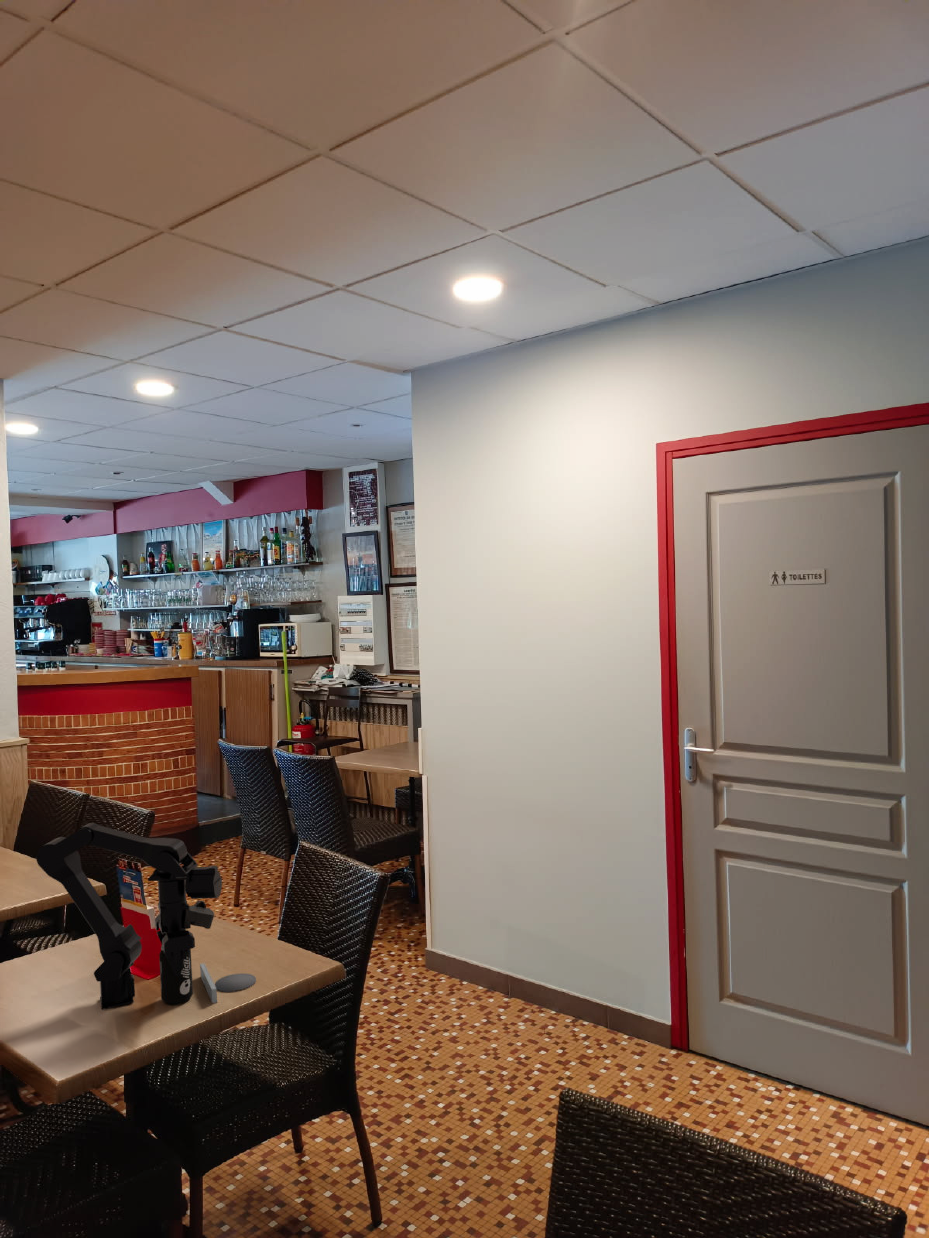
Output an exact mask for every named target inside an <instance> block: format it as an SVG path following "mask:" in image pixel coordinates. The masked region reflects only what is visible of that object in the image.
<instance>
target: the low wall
mask: <svg viewBox="0 0 929 1238" xmlns="http://www.w3.org/2000/svg"><path fill="white" fill-rule="evenodd" d="M199 970H200V972H199V973H200V978H201V981H202V982H203V986H204V985H205V986H204V987H205V990H206V993H207V995H208V997H209V998H210V1001H211V1003H212V1004H217V1003H218V994H217V991H218V990H217V989H216V986H215V982H214V981H213V978H212V976H211V974H210V972H209V970H208V967H207V965H206V964H205V962H203V963H200V964H199Z"/></svg>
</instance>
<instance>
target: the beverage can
mask: <svg viewBox="0 0 929 1238" xmlns="http://www.w3.org/2000/svg"><path fill="white" fill-rule="evenodd" d="M162 947H163V945H162V944H161V947H160V949H161V950H160V952H159V953H158V955H159V959H158V960H159V974H160V975H159V976H160V978H159V979H160V980H159V981H160V997H161V998H160V999H161V1001H162V1002H163V1003H164V1004H166V1005H169V1006H176V1005H181V1004H185V1003H186V1002H188V1001H190V999H191V998H192V996H193V995H194V990H193V968H192V967H193V966H192V951H191V950H192V949H189V950H188V951H187V952H186V953H185V957H184V961H183V966H182V971H181V975H180V976H175V974H174V972H173V970H172V968H171V966H170V964H169V962H168V959H167V957H166V955H165V953H164V951H163V948H162Z"/></svg>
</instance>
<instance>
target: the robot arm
mask: <svg viewBox="0 0 929 1238" xmlns="http://www.w3.org/2000/svg"><path fill="white" fill-rule="evenodd" d="M85 846H91V847H95V848H99V849H103V850H105V851H106V850H107V851H110V852H114V853H118V854H122V855H126V856H128V857H129V856H130V857H133V858H137V859H139V860H141V861H143V863H145V864H146V865H148V866H149V867H150V868H153V869H154V871H153V872H152V873H151V874H150V876H149V877H148V878H147V881H148V882H157V888H158V890H157V891H158V892H157V893H158V903H157V908H158V910H159V911H158V913H159V914H158V915H156V917H155V918H154V927H155V931H156V934H157V937H158V939H159V942H160V944H161V946H162V945H163V947H162V948H163V951H164V953H165V955H166V957H167V959H168V962H169V964H170V966H171V968H172V970H173V972H174V974H175V976H180V975H181V971H182V966H183V961H184V957H185V953H186V952H187V951H188V950H189V949H191V950H192V949H194V948H196V941H195V939H196V938H195V936H194V934H193V932H191V931H190V930H188V929H191V928H192V927H191V926H195V927H201V928H204V929H207V930H210V929H211V928H212V924H213V920H214V917H215V912H214V911H213V909H211V908H210V907H207V905H206V902H205V901H204V900H202V899H219V898H220V896H221V893H222V886H223V879H222V876H221V873H220V871H219V867H218V865H210V866H198V862H197V861H196V860H195V859H194V857H193V856H191V854H190V853H189V852H188V849H187V846H186V844H185V842H184V841H183V840H181V839H179V838H171V837H154V838H152V837H151V838H150V837H146V836H141V835H137V834H133V833H129V832H126V831H122V830H118V829H114V828H110V827H106V826H103V825H100V824H98V823H95V822H90V823H87V824H85V825H83V826H82V827H80V828H79V829H78V830H77V831H75V832H73V833H72V834H70V835H69V836H67V837H65V836H59V837H57V838H56V837H55V838H54V839H52V840H51V841H49V842H47V843H46V844H44V845H42V846H41V847H40V848H39V849H38V851H37V853H36V857H35V861H36V862H37V863H36V864H37V865H38V867H39V868H40V869H41V870H42V871H43V872H44V873H45V874H46V875H47V876H48V877H50V878H52V879H53V880H55V881H57V882H58V883H60V884H61V885H62V886H63V888H64V889H65V890H66V893H67V894H68V895H69V896H70V898H71V900H72V901H73V903H74V904H75V905H76V907H77V908H78V911H80V913H81V915H82V916H83V918H84V919H85V921H86V922H87V924H88V925H89V927H90V928H91V930H92V931H93V932H94V934H95V936H96V937H97V941H98V947H99V954H100V955H101V957H102V960H103V962H101V964H100V965H99V966H98V967H97V968H96V969H95V970H94V971H93V976H94V979H95V980H96V982H99V986H100V987H99V988H100V991H99V992H100V997H99V1000H100V1002H99V1003H100V1007H101V1010H107V1009H112V1008H116V1007H121V1006H125V1005H129V1004H133V1003H134V1002H135V1001H134V998H135V997H136V989H135V988H136V987H135V977H134V974H132V970H131V967H132V966H134V964H135V961H136V960H137V959H138V957H140V955H141V954H142V948H143V945H142V942H141V939H142V937H141V936H140V935H138V933H137V932H136V930H135V928H134V926H133V925H132V924H128V925H127V926H124V925H123V924H120V923H118V921H117V920H116V919H115V917H114V915H113V914H112V912H111V911H110V909H109V908H108V907H107V905H106V903H105V902H104V901H103V899H102V898H101V896H100V894H99V892H97V890H96V888H95V887H94V885H93V884H92V883H91V881H90V880H89V878H88V877H87V875H86V873H85V872H84V870H83V867H82V862H81V856H80V853H79V850H80V849H81V848H83V847H85ZM181 865H183V866H181ZM187 897H188V898H190V899H192V900H197V901H196V902H195V903H193V904H192V905H190V904H189V903H188V900H187ZM200 899H201V900H200Z"/></svg>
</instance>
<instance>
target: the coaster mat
mask: <svg viewBox="0 0 929 1238" xmlns="http://www.w3.org/2000/svg"><path fill="white" fill-rule="evenodd" d="M256 982H257V977H256V976H255V975H254V974H250V973H243V972H242V973H241V972H239V973H234V974H228V975H225V976H223V977H220V978H219V979H218V980H216V981H215V982H214V984H215V986H216V989H217V991H219V992H224V993H234V992H233V991H235V992H240V991H239V990H241V991H243V990H242V989H244V990H247V989H249V988H251V987H252V985H253V986H254V985H255V984H256ZM250 986H251V987H250ZM246 988H247V989H246Z"/></svg>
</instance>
